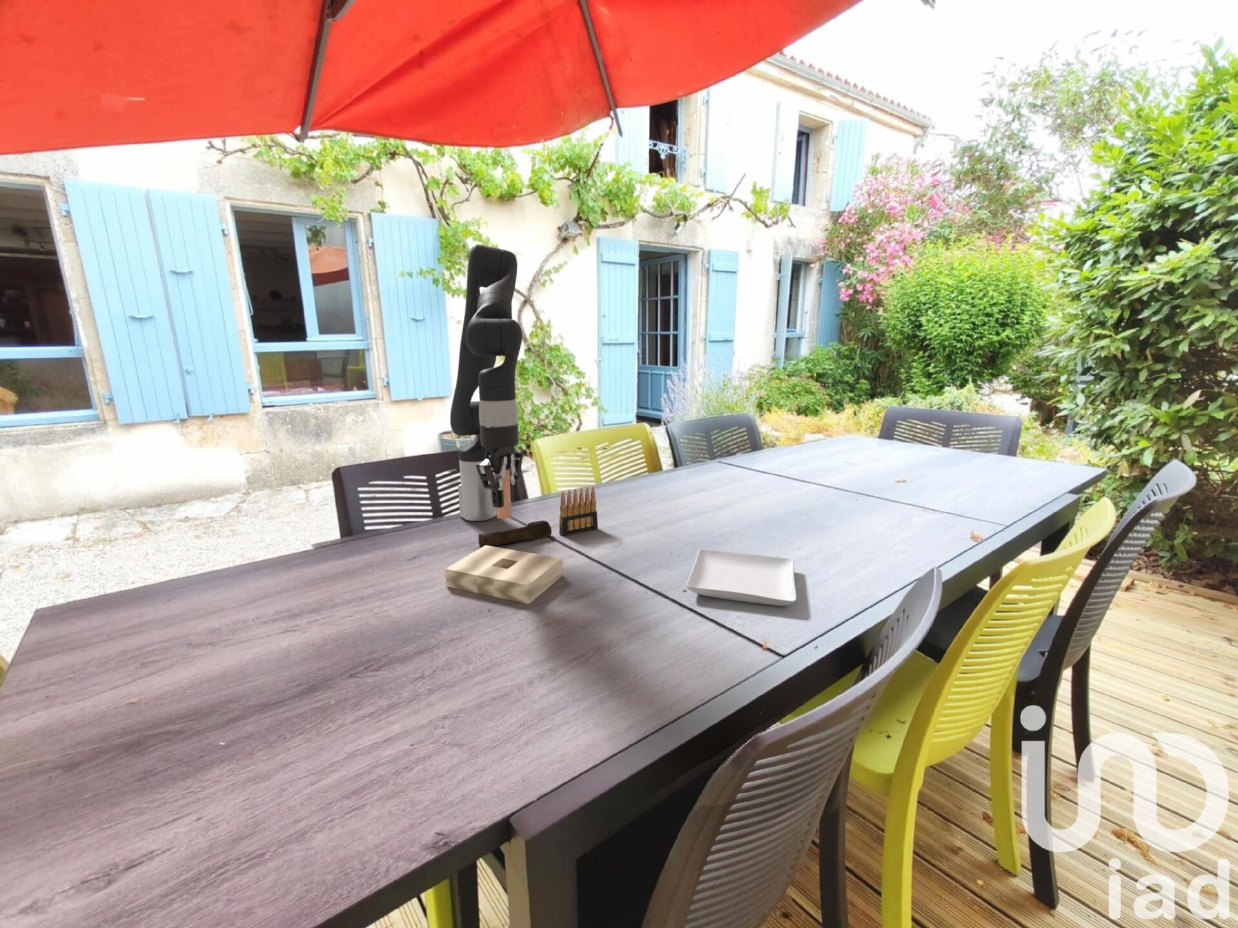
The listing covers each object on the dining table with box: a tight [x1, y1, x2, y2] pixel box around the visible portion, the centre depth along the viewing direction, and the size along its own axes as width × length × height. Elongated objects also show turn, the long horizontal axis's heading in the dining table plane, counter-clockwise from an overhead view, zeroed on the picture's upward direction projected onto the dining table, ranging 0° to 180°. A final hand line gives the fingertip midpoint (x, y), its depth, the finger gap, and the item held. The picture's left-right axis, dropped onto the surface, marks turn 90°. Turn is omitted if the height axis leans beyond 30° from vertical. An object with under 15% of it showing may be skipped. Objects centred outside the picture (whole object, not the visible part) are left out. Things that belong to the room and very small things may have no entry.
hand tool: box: [478, 520, 552, 549], centre depth 138 cm, size 19×4×5 cm, turn 118°
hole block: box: [444, 545, 564, 605], centre depth 116 cm, size 20×14×4 cm
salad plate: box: [685, 548, 798, 607], centre depth 115 cm, size 21×21×3 cm
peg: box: [494, 469, 512, 520], centre depth 112 cm, size 3×3×10 cm
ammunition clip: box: [558, 485, 599, 537], centre depth 145 cm, size 11×2×12 cm, turn 121°
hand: (503, 504), depth 113 cm, fingers closed on peg, 3 cm apart
